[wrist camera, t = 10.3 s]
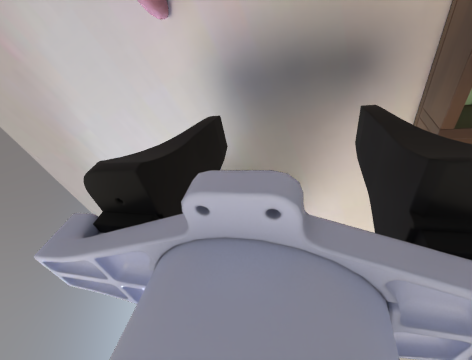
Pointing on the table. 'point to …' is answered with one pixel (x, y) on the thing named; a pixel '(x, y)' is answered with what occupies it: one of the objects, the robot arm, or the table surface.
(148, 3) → the video game controller
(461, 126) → the caddy
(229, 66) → the table surface
